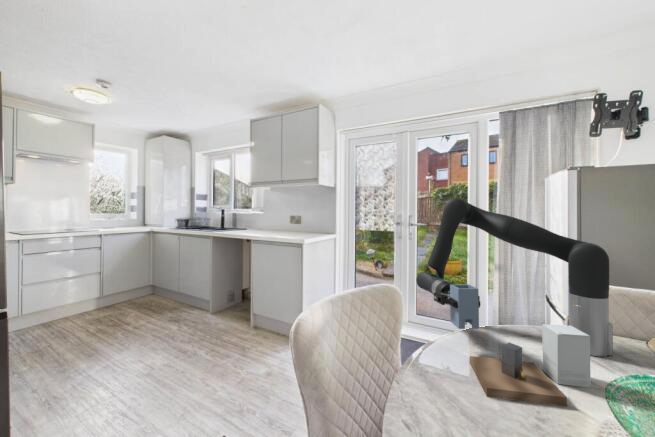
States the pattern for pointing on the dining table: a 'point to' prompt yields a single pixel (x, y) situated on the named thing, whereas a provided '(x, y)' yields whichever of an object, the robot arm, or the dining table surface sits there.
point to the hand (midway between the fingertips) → (467, 304)
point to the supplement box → (566, 355)
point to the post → (512, 361)
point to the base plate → (516, 382)
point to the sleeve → (465, 306)
